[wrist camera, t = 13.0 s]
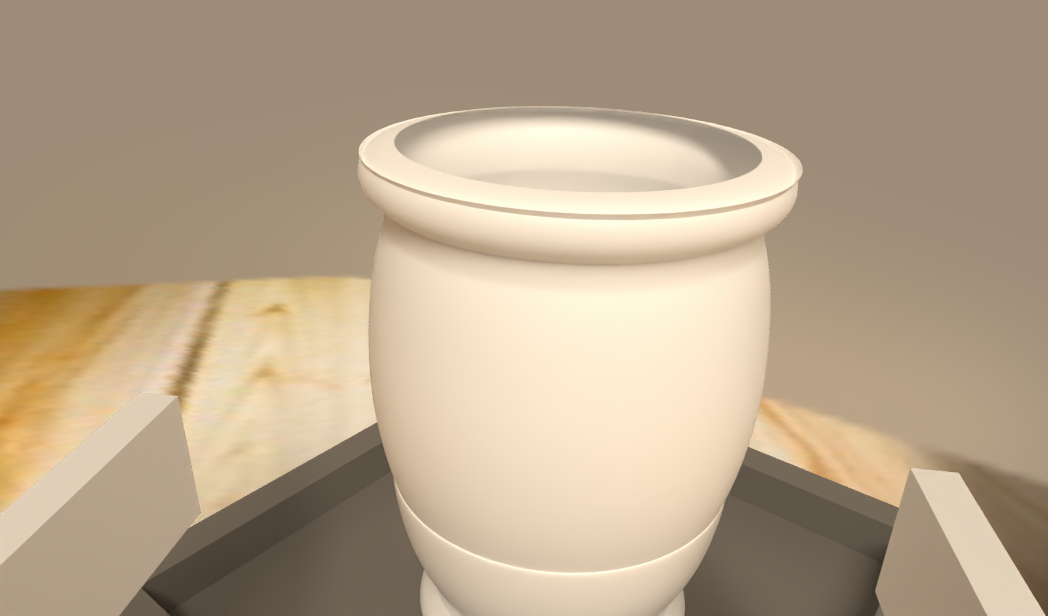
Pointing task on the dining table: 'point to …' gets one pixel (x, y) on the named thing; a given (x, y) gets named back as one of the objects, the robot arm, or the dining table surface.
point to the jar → (568, 347)
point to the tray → (395, 571)
